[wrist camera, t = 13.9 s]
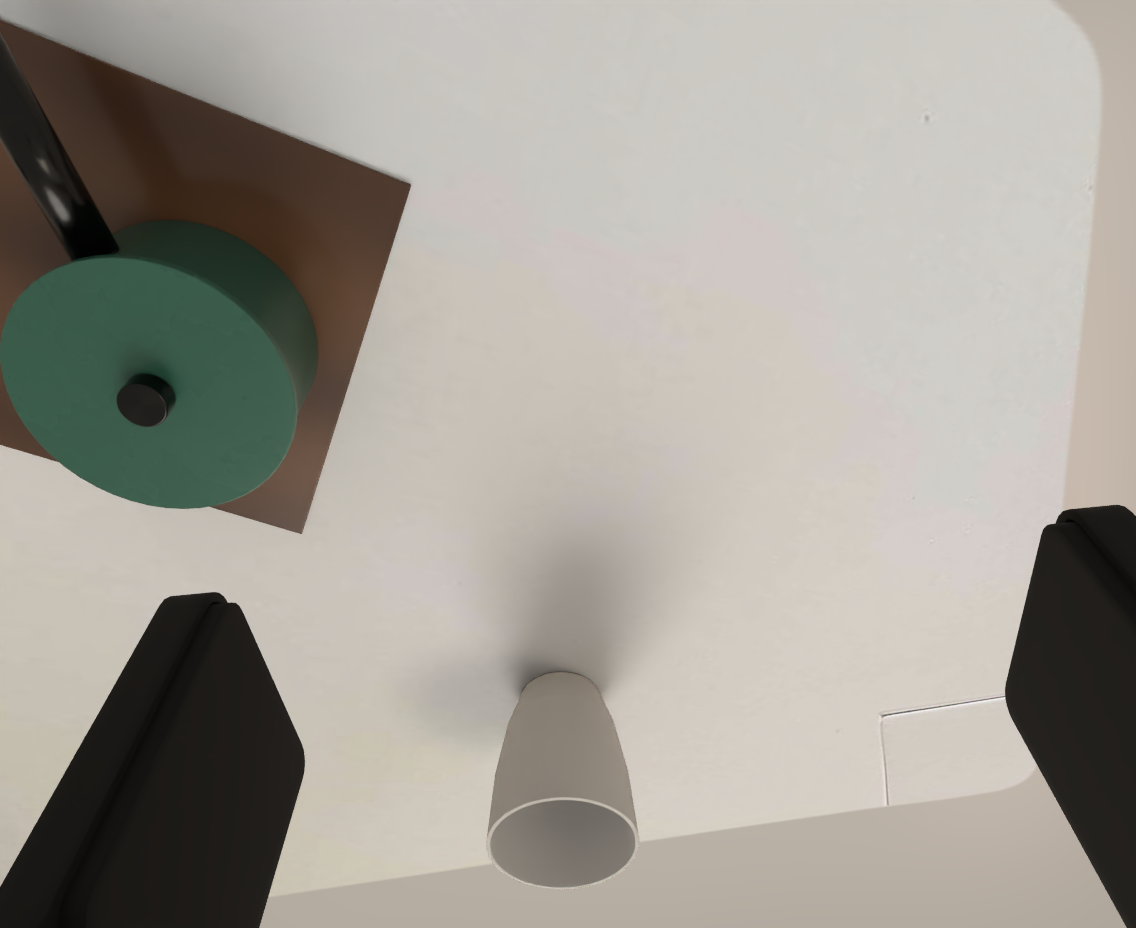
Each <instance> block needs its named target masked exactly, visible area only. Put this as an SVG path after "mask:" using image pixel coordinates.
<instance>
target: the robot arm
mask: <svg viewBox="0 0 1136 928" xmlns="http://www.w3.org/2000/svg"><path fill="white" fill-rule="evenodd" d="M1005 697H1006V703H1007V707H1008V710H1009V713H1010V716H1011V718H1012V720H1013V722H1014V723H1015V725H1016V727H1017V729H1018V731H1019V733H1020V734H1021V736H1022V738H1023V740H1024V742H1025V743H1026V745H1027V747H1028V749H1029V751H1030V753H1031V754H1032V756H1033V758H1034V760H1035V762H1036V763H1037V765H1038V767H1039V769H1040V771H1041V772H1042V774H1043V776H1044V778H1045V780H1046V782H1047V783H1048V785H1049V787H1050V789H1051V791H1052V792H1053V794H1054V796H1055V798H1056V800H1057V802H1058V803H1059V805H1060V807H1061V809H1062V811H1063V813H1064V814H1065V816H1066V818H1067V820H1068V822H1069V823H1070V825H1071V827H1072V829H1073V831H1074V833H1075V834H1076V836H1077V838H1078V840H1079V842H1080V843H1081V845H1082V847H1083V849H1084V851H1085V853H1086V854H1087V856H1088V858H1089V860H1090V861H1091V863H1092V865H1093V867H1094V869H1095V871H1096V873H1097V874H1098V876H1099V878H1100V880H1101V882H1102V883H1103V885H1104V887H1105V889H1106V891H1107V892H1108V894H1109V896H1110V898H1111V900H1112V901H1113V903H1114V905H1115V907H1116V909H1117V910H1118V912H1119V914H1120V916H1121V918H1122V920H1123V922H1124V923H1125V925H1126V927H1127V928H1136V516H1135V515H1134V514H1133V513H1132V512H1131V511H1130V510H1128V509H1127V508H1126V507H1124V506H1120V505H1110V506H1100V507H1090V508H1080V509H1069V510H1065V511H1063V512H1062V513H1061V514H1060V515H1059V516H1058V519H1057V521H1056V524H1050V525H1047V526H1046V527H1045V528H1044V529H1043V532H1042V535H1041V539H1040V543H1039V547H1038V551H1037V555H1036V560H1035V564H1034V568H1033V572H1032V576H1031V581H1030V585H1029V589H1028V593H1027V597H1026V602H1025V606H1024V610H1023V614H1022V618H1021V623H1020V627H1019V631H1018V635H1017V639H1016V644H1015V648H1014V652H1013V656H1012V660H1011V664H1010V669H1009V673H1008V677H1007V681H1006V687H1005ZM304 767H305V756H304V750H303V747H302V744H301V741H300V739H299V737H298V735H297V732H296V730H295V728H294V726H293V724H292V721H291V719H290V717H289V715H288V712H287V710H286V708H285V706H284V703H283V701H282V699H281V697H280V694H279V692H278V690H277V688H276V685H275V683H274V681H273V679H272V677H271V674H270V672H269V670H268V668H267V665H266V663H265V661H264V659H263V656H262V654H261V652H260V650H259V647H258V645H257V643H256V641H255V638H254V636H253V634H252V632H251V630H250V627H249V625H248V623H247V621H246V618H245V616H244V614H243V612H242V610H241V608H240V606H239V605H237V604H236V603H227V601H226V599H225V598H224V596H222V595H221V594H220V593H216V592H211V593H200V594H190V595H180V596H170V597H168V598H166V599H164V601H163V602H162V603H161V605H160V606H159V608H158V609H157V611H156V613H155V615H154V616H153V618H152V620H151V622H150V623H149V625H148V627H147V629H146V631H145V632H144V634H143V636H142V638H141V639H140V641H139V643H138V645H137V646H136V648H135V650H134V652H133V653H132V655H131V657H130V659H129V661H128V662H127V664H126V666H125V668H124V669H123V671H122V673H121V675H120V676H119V678H118V680H117V682H116V684H115V685H114V687H113V689H112V691H111V692H110V694H109V696H108V698H107V699H106V701H105V703H104V705H103V707H102V708H101V710H100V712H99V714H98V715H97V717H96V719H95V721H94V722H93V724H92V726H91V728H90V729H89V731H88V733H87V735H86V736H85V738H84V740H83V742H82V743H81V745H80V747H79V749H78V751H77V752H76V754H75V756H74V758H73V759H72V761H71V763H70V765H69V766H68V768H67V770H66V772H65V773H64V775H63V777H62V779H61V781H60V782H59V784H58V786H57V788H56V789H55V791H54V793H53V795H52V796H51V798H50V800H49V802H48V804H47V805H46V807H45V809H44V811H43V812H42V814H41V816H40V818H39V819H38V821H37V823H36V825H35V826H34V828H33V830H32V832H31V834H30V835H29V837H28V839H27V841H26V842H25V844H24V846H23V848H22V849H21V851H20V853H19V855H18V857H17V858H16V860H15V862H14V864H13V865H12V867H11V869H10V871H9V872H8V874H7V876H6V878H5V879H4V881H3V883H2V885H1V887H0V928H259V926H260V923H261V919H262V916H263V913H264V909H265V906H266V902H267V899H268V895H269V892H270V889H271V885H272V882H273V878H274V875H275V871H276V868H277V865H278V861H279V858H280V854H281V851H282V848H283V844H284V841H285V837H286V834H287V830H288V827H289V824H290V820H291V817H292V813H293V810H294V806H295V803H296V800H297V796H298V793H299V789H300V786H301V782H302V779H303V775H304Z"/></svg>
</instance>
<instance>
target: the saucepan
mask: <svg viewBox="0 0 1136 928" xmlns="http://www.w3.org/2000/svg"><path fill="white" fill-rule="evenodd" d="M0 142H1V144H2V145H3V147H4V149H5V151H6V152H7V154H8V156H9V157H10V159H11V161H12V162H13V164H14V166H15V167H16V169H17V171H18V172H19V174H20V176H21V178H22V179H23V181H24V183H25V184H26V186H27V188H28V189H29V191H30V193H31V194H32V196H33V198H34V199H35V201H36V203H37V204H38V206H39V208H40V210H41V211H42V213H43V215H44V216H45V218H46V220H47V221H48V223H49V225H50V226H51V228H52V230H53V231H54V233H55V235H56V237H57V238H58V240H59V242H60V243H61V245H62V247H63V248H64V250H65V252H66V253H67V255H68V257H69V258H70V260H71V261H70V262H67V263H64V264H62V265H59V266H57V267H56V268H54V269H52V270H50V271H48V272H46V273H45V274H43V275H42V276H40V277H39V278H38V279H37V280H35V281H34V282H33V283H32V284H30V285H29V286H28V287H27V288H26V289H25V290H24V291H23V292H22V293H21V295H20V296H19V297H18V298H17V299H16V301H15V303H14V304H13V306H12V308H11V309H10V311H9V313H8V315H7V318H6V321H5V324H4V326H3V330H2V336H1V342H0V363H1V369H2V376H3V380H4V383H5V386H6V389H7V393H8V395H9V397H10V400H11V402H12V404H13V406H14V408H15V410H16V412H17V414H18V415H19V417H20V418H21V420H22V422H23V423H24V425H25V426H26V428H27V429H28V430H29V431H30V433H31V434H32V435H33V437H34V438H35V439H36V440H37V441H38V442H39V443H40V445H41V446H42V447H43V448H44V449H45V450H46V451H47V452H48V453H49V454H50V455H51V456H53V457H54V458H55V459H56V460H57V461H58V462H60V463H61V464H62V465H63V466H64V467H66V468H67V469H69V470H70V471H72V472H73V473H74V474H76V475H77V476H79V477H80V478H82V479H84V480H85V481H87V482H89V483H91V484H92V485H94V486H96V487H98V488H100V489H102V490H105V491H107V492H109V493H111V494H113V495H116V496H119V497H122V498H125V499H128V500H130V501H134V502H138V503H142V504H146V505H151V506H157V507H164V508H178V509H189V508H203V507H209V506H215V505H219V504H223V503H226V502H229V501H233V500H235V499H237V498H239V497H242V496H244V495H246V494H248V493H249V492H251V491H253V490H254V489H256V488H257V487H259V486H260V485H261V484H263V483H264V482H265V481H266V480H267V479H268V478H270V477H271V475H272V474H273V473H274V472H275V471H276V470H277V468H278V467H279V466H280V464H281V463H282V461H283V459H284V458H285V456H286V454H287V452H288V450H289V448H290V445H291V443H292V440H293V438H294V434H295V429H296V424H297V416H298V414H299V412H300V409H301V407H302V405H303V403H304V401H305V399H306V397H307V395H308V393H309V391H310V389H311V386H312V384H313V381H314V379H315V374H316V369H317V363H318V345H317V336H316V332H315V328H314V323H313V321H312V318H311V315H310V313H309V310H308V308H307V306H306V304H305V302H304V300H303V299H302V297H301V295H300V293H299V292H298V290H297V289H296V288H295V286H294V285H293V283H292V282H291V281H290V279H289V278H288V277H287V276H286V275H285V274H284V273H283V271H282V270H281V269H280V268H279V267H278V266H277V265H276V264H275V263H273V262H272V261H271V260H270V259H269V258H268V257H267V256H265V255H264V254H263V253H261V252H260V251H259V250H257V249H256V248H255V247H253V246H252V245H250V244H248V243H246V242H245V241H243V240H241V239H240V238H238V237H236V236H233V235H231V234H229V233H227V232H224V231H222V230H220V229H216V228H213V227H210V226H207V225H204V224H199V223H194V222H188V221H178V220H158V221H149V222H144V223H139V224H135V225H132V226H130V227H127V228H124V229H121V230H120V231H118V232H116V233H114V234H112V233H111V231H110V229H109V227H108V226H107V224H106V222H105V220H104V218H103V217H102V215H101V213H100V211H99V209H98V208H97V206H96V204H95V202H94V200H93V199H92V197H91V195H90V193H89V191H88V190H87V188H86V186H85V184H84V182H83V181H82V179H81V177H80V175H79V173H78V172H77V170H76V168H75V166H74V164H73V163H72V161H71V159H70V157H69V155H68V154H67V152H66V150H65V148H64V146H63V145H62V143H61V141H60V139H59V137H58V136H57V134H56V132H55V130H54V128H53V127H52V125H51V123H50V121H49V119H48V118H47V116H46V114H45V112H44V110H43V109H42V107H41V105H40V103H39V101H38V100H37V98H36V96H35V94H34V92H33V91H32V89H31V87H30V85H29V83H28V82H27V80H26V78H25V76H24V74H23V73H22V71H21V69H20V67H19V65H18V64H17V62H16V60H15V58H14V56H13V55H12V53H11V51H10V49H9V47H8V46H7V44H6V42H5V40H4V38H3V37H2V35H1V33H0Z"/></svg>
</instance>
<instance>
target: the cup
mask: <svg viewBox="0 0 1136 928" xmlns="http://www.w3.org/2000/svg"><path fill="white" fill-rule="evenodd" d="M486 847H487V852H488V855H489V858H490V859H491V861H492V862H493V864H494V865H495V866H496V867H497V868H498V869H499V870H500V871H501V872H503V873H504V874H505V875H507V876H509V877H510V878H512V879H514V880H516V881H519V882H521V883H524V884H527V885H531V886H535V887H540V888H548V889H574V888H582V887H587V886H591V885H594V884H598V883H601V882H604V881H606V880H608V879H610V878H612V877H614V876H616V875H618V874H619V873H621V872H622V871H623V870H624V869H626V868H627V867H628V866H629V865H630V863H631V862H632V861H633V860H634V858H635V856H636V854H637V852H638V848H639V835H638V829H637V823H636V817H635V811H634V805H633V798H632V792H631V786H630V780H629V774H628V769H627V766H626V762H625V759H624V756H623V752H622V749H621V745H620V742H619V738H618V735H617V732H616V728H615V725H614V722H613V719H612V717H611V715H610V713H609V711H608V709H607V707H606V705H605V703H604V701H603V699H602V697H601V695H600V693H599V691H598V689H597V687H596V686H595V685H594V684H593V683H592V682H591V681H590V680H588V679H587V678H585V677H583V676H581V675H578V674H574V673H569V672H554V673H548V674H545V675H542V676H539V677H537V678H535V679H534V680H532V681H531V682H530V683H529V684H528V685H527V686H526V687H525V688H524V690H523V692H522V694H521V696H520V698H519V701H518V703H517V705H516V707H515V709H514V712H513V714H512V716H511V718H510V721H509V723H508V726H507V730H506V734H505V738H504V742H503V746H502V750H501V754H500V758H499V762H498V765H497V769H496V773H495V780H494V788H493V796H492V803H491V811H490V819H489V826H488V834H487V842H486Z"/></svg>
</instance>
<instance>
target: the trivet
mask: <svg viewBox="0 0 1136 928" xmlns="http://www.w3.org/2000/svg"><path fill="white" fill-rule="evenodd" d="M0 33H1V35H2V37H3V38H4V40H5V42H6V44H7V46H8V47H9V49H10V51H11V53H12V55H13V56H14V58H15V60H16V62H17V64H18V65H19V67H20V69H21V71H22V73H23V74H24V76H25V78H26V80H27V82H28V83H29V85H30V87H31V89H32V91H33V92H34V94H35V96H36V98H37V100H38V101H39V103H40V105H41V107H42V109H43V110H44V112H45V114H46V116H47V118H48V119H49V121H50V123H51V125H52V127H53V128H54V130H55V132H56V134H57V136H58V137H59V139H60V141H61V143H62V145H63V146H64V148H65V150H66V152H67V154H68V155H69V157H70V159H71V161H72V163H73V164H74V166H75V168H76V170H77V172H78V173H79V175H80V177H81V179H82V181H83V182H84V184H85V186H86V188H87V190H88V191H89V193H90V195H91V197H92V199H93V200H94V202H95V204H96V206H97V208H98V209H99V211H100V213H101V215H102V217H103V218H104V220H105V222H106V224H107V226H108V227H109V229H110V231H111V233H112V234H114V233H116V232H118V231H120V230H121V229H124V228H127V227H130V226H132V225H135V224H139V223H144V222H149V221H158V220H178V221H188V222H194V223H199V224H204V225H207V226H210V227H213V228H216V229H220V230H222V231H224V232H227V233H229V234H231V235H233V236H236V237H238V238H240V239H241V240H243V241H245V242H246V243H248V244H250V245H252V246H253V247H255V248H256V249H257V250H259V251H260V252H261V253H263V254H264V255H265V256H267V257H268V258H269V259H270V260H271V261H272V262H273V263H275V264H276V265H277V266H278V267H279V268H280V269H281V270H282V271H283V273H284V274H285V275H286V276H287V277H288V278H289V279H290V281H291V282H292V283H293V285H294V286H295V288H296V289H297V290H298V292H299V293H300V295H301V297H302V299H303V300H304V302H305V304H306V306H307V308H308V310H309V313H310V315H311V318H312V321H313V323H314V328H315V332H316V336H317V345H318V363H317V369H316V374H315V379H314V381H313V384H312V386H311V389H310V391H309V393H308V395H307V397H306V399H305V401H304V403H303V405H302V407H301V409H300V412H299V414H298V416H297V424H296V429H295V434H294V438H293V440H292V443H291V445H290V448H289V450H288V452H287V454H286V456H285V458H284V459H283V461H282V463H281V464H280V466H279V467H278V468H277V470H276V471H275V472H274V473H273V474H272V475H271V477H270V478H268V479H267V480H266V481H265V482H264V483H263V484H261V485H260V486H259V487H257V488H256V489H254V490H253V491H251V492H249V493H248V494H246V495H244V496H242V497H239V498H237V499H235V500H233V501H229V502H226V503H223V504H219V505H215V506H209V507H212V508H216V509H219V510H222V511H226V512H229V513H232V514H236V515H239V516H243V517H246V518H249V519H253V520H256V521H259V522H263V523H266V524H269V525H273V526H276V527H280V528H283V529H286V530H290V531H293V532H296V533H300V534H302V532H303V528H304V525H305V522H306V519H307V516H308V512H309V509H310V506H311V503H312V500H313V496H314V493H315V490H316V487H317V484H318V481H319V477H320V474H321V471H322V468H323V465H324V461H325V458H326V455H327V452H328V449H329V446H330V442H331V439H332V436H333V433H334V430H335V426H336V423H337V420H338V417H339V414H340V410H341V407H342V404H343V401H344V398H345V395H346V391H347V388H348V385H349V382H350V379H351V375H352V372H353V369H354V366H355V363H356V359H357V356H358V353H359V350H360V347H361V344H362V340H363V337H364V334H365V331H366V328H367V324H368V321H369V318H370V315H371V312H372V308H373V305H374V302H375V299H376V296H377V293H378V289H379V286H380V283H381V280H382V277H383V273H384V270H385V267H386V264H387V261H388V257H389V254H390V251H391V248H392V245H393V242H394V238H395V235H396V232H397V229H398V226H399V222H400V219H401V216H402V213H403V210H404V207H405V203H406V200H407V197H408V194H409V191H410V187H411V185H410V184H408V183H405V182H403V181H400V180H398V179H395V178H393V177H390V176H388V175H385V174H383V173H380V172H378V171H375V170H373V169H370V168H368V167H365V166H363V165H360V164H358V163H355V162H353V161H350V160H348V159H345V158H343V157H340V156H338V155H335V154H333V153H330V152H328V151H325V150H323V149H320V148H318V147H315V146H313V145H310V144H308V143H305V142H303V141H300V140H298V139H295V138H293V137H290V136H288V135H285V134H283V133H281V132H278V131H276V130H273V129H271V128H268V127H266V126H263V125H261V124H258V123H256V122H253V121H251V120H248V119H246V118H243V117H241V116H238V115H236V114H233V113H231V112H228V111H226V110H223V109H221V108H218V107H216V106H213V105H211V104H208V103H206V102H203V101H201V100H198V99H196V98H193V97H191V96H188V95H186V94H183V93H181V92H178V91H176V90H173V89H171V88H168V87H166V86H163V85H161V84H158V83H156V82H153V81H151V80H149V79H146V78H144V77H141V76H139V75H136V74H134V73H131V72H129V71H126V70H124V69H121V68H119V67H116V66H114V65H111V64H109V63H106V62H104V61H101V60H99V59H96V58H94V57H91V56H89V55H86V54H84V53H81V52H79V51H76V50H74V49H71V48H69V47H66V46H64V45H61V44H59V43H56V42H54V41H51V40H49V39H46V38H44V37H41V36H39V35H36V34H34V33H31V32H29V31H26V30H24V29H21V28H19V27H17V26H14V25H12V24H9V23H7V22H4V21H2V20H0ZM70 261H71V260H70V258H69V257H68V255H67V253H66V252H65V250H64V248H63V247H62V245H61V243H60V242H59V240H58V238H57V237H56V235H55V233H54V231H53V230H52V228H51V226H50V225H49V223H48V221H47V220H46V218H45V216H44V215H43V213H42V211H41V210H40V208H39V206H38V204H37V203H36V201H35V199H34V198H33V196H32V194H31V193H30V191H29V189H28V188H27V186H26V184H25V183H24V181H23V179H22V178H21V176H20V174H19V172H18V171H17V169H16V167H15V166H14V164H13V162H12V161H11V159H10V157H9V156H8V154H7V152H6V151H5V149H4V147H3V145H2V144H1V142H0V342H1V336H2V330H3V326H4V324H5V321H6V318H7V315H8V313H9V311H10V309H11V308H12V306H13V304H14V303H15V301H16V299H17V298H18V297H19V296H20V295H21V293H22V292H23V291H24V290H25V289H26V288H27V287H28V286H29V285H30V284H32V283H33V282H34V281H35V280H37V279H38V278H39V277H40V276H42V275H43V274H45V273H46V272H48V271H50V270H52V269H54V268H56V267H57V266H59V265H62V264H64V263H67V262H70ZM0 445H3V446H6V447H10V448H13V449H16V450H20V451H23V452H27V453H30V454H33V455H37V456H40V457H43V458H47V459H50V460H54V461H57V460H56V459H55V458H54V457H53V456H51V455H50V454H49V453H48V452H47V451H46V450H45V449H44V448H43V447H42V446H41V445H40V443H39V442H38V441H37V440H36V439H35V438H34V437H33V435H32V434H31V433H30V431H29V430H28V429H27V428H26V426H25V425H24V423H23V422H22V420H21V418H20V417H19V415H18V414H17V412H16V410H15V408H14V406H13V404H12V402H11V400H10V397H9V395H8V393H7V389H6V386H5V383H4V380H3V376H2V369H1V363H0ZM57 462H58V461H57Z"/></svg>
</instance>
